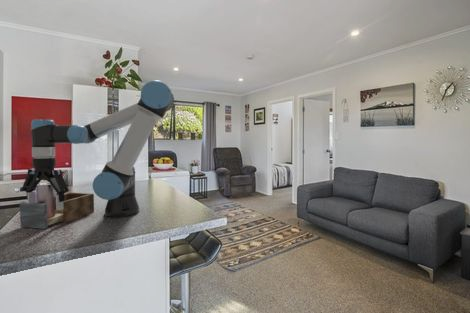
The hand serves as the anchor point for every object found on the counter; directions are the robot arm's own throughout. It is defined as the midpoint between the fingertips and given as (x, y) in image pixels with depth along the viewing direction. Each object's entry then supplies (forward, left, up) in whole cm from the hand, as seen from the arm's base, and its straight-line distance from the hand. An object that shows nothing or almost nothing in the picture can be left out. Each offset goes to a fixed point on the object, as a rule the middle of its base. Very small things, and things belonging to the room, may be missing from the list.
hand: (45, 208), depth 100 cm
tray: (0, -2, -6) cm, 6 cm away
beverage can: (0, 0, -5) cm, 5 cm away
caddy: (0, -11, -6) cm, 13 cm away
